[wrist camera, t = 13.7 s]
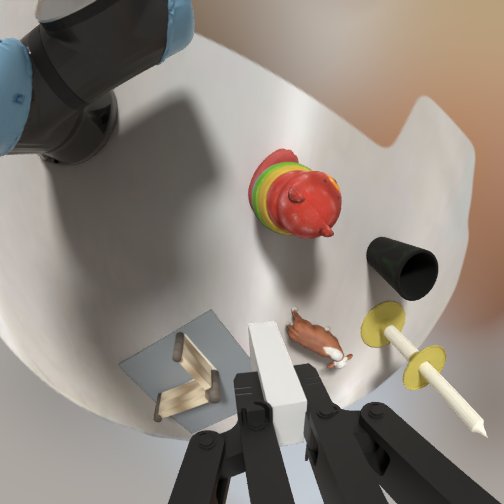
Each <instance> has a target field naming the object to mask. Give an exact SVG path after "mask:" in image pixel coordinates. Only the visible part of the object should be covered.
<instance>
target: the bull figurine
mask: <svg viewBox="0 0 504 504" xmlns="http://www.w3.org/2000/svg"><path fill="white" fill-rule="evenodd" d="M297 311H298V308H297V307H295V308H292V312H293V313H292V315H293V316H294V317H295V320H294V322H293V323H292V324H291V323H290V322H286V327H287V328H289V330H288V335H289V337H290V339H291V340H293V341H295V342H297V343H299V344H301V345H302V346H304V347H305V348H307V349H309V350H311V351H313V352H315V353H317V354H319V355H321V356H325V357H330V358H331V359H333V362H332V363H330V364H328V366H327V367H328V368H332V367H334V366H335V367H336V368H337V369H341V368H342V367H345V366H346V364H347V360H349V359H351V358H352V356H353V355H352V354H349V355H347V356H346V357H345V356H344V354H343V351H342V349H341V347H340V345H339V342H338V340H337V338H336V337H335V336H333V335H332V334H331V332H330V331H329V330H330V327H325V328H323V327H321V326H319V325H312V324H311V323H310V322H309V321H307V320H304V319H302V318H301V317H300V316H299V315H298V313H297Z"/></svg>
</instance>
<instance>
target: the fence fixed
mask: <svg viewBox="0 0 504 504" xmlns="http://www.w3.org/2000/svg"><path fill="white" fill-rule="evenodd" d="M172 360H173V361H174V362H179V363H180V364H181V365H182V366H183V367H184V369H185V370H186V371H187V372H188V373H189V374H190V375H191V376H192V377H193V378H194V379H195V380H196V381H197V382H198V383H199V384H200V385H201V386H202V387H203V388H204V389H205V390H207V389H209V401H210V402H211V403H214V404H216V403H219V402H220V400H221V399H220V383H219V372H218V371H217V370H211V365H210V364H209V363H208V362H207V361H206V360H205V359H204V357H203V356H202V355H201V354H200V353H199V352H198V351H197V350H196V348H195V347H194V346H193V345H192V344H191V343H190V341H189V340H188V339H187V338H186V337H185V336H184V334H183V333H182V332H178V333H177V334H176V338H175V344H174V350H173V355H172Z"/></svg>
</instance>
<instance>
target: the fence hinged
mask: <svg viewBox="0 0 504 504" xmlns="http://www.w3.org/2000/svg"><path fill="white" fill-rule="evenodd" d="M207 402H209V389H207V390H205V389H204V388H203V387H202V386H201V385H200V384H199V383H198V382H197V381H196V380H193V381H191V382H188V383H186V384H183V385H180V386H178V387H175V388H173V389H170V390H167V391H165V392H162V393H159V394H158V396H157V402H156V407H155V413H154V421H156V422H161V420H162V418H165V417H168V416H171V415H174V414H177V413H180V412H183V411H185V410H188V409H191V408H194V407H196V406H199V405H202V404H205V403H207Z"/></svg>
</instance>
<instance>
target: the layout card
mask: <svg viewBox="0 0 504 504" xmlns="http://www.w3.org/2000/svg"><path fill="white" fill-rule="evenodd" d="M178 332H182V333H183V334H184V336H185V337H186V338H187V339H188V340H189V341H190V343H191V344H192V345H193V346H194V347H195V348H196V350H197V351H198V352H199V353H200V354H201V355H202V356H203V357H204V359H205V360H206V361H207V362H208V363H209V364H210V365H211V370H217V371H218V372H219V383H220V399H221V400H220V402H219V403H216V404H214V403H211V402H210V401H209V402H207V403H205V404H202V405H199V406H196V407H194V408H191V409H188V410H185V411H183V412H180V413H177V414H174V415H171V416H172V417H173V418H174V419H175V420H176V421H177V422H178V423H180V424H181V425H182V426H183V427H184V428H186V429H187V430H188V431H189V432H190V433H194V432H196V431H198V430H201V429H203V428H205V427H208V426H210V425H212V424H214V423H216V422H219V421H221V420H223V419H225V418H227V417H229V416H232V415H234V414H236V413H237V408H236V400H235V392H234V383H233V380H234V378H235V376H236V374H237V373H246V372H253V371H252V367H251V359H250V357H249V356H248V355H247V354H246V353H245V351H244V350H243V349H242V348H241V346H240V345H239V344H238V343H237V341H236V340H235V339H234V338H233V337H232V335H231V334H230V333H229V331H228V330H227V329H226V328H225V326H224V325H223V324H222V323H221V321H220V320H219V319H218V318H217V316H216V315H215V314H214V312H213V311H212V310H209V311H208V312H206V313H204V314H203V315H201V316H199V317H198V318H196V319H194V320H193V321H191V322H189V323H188V324H186V325H184V326H183V327H181V328H179V329H178V330H176V331H174V332H173V333H171V334H169V335H168V336H166V337H164V338H163V339H161V340H159V341H158V342H156V343H154V344H153V345H151V346H149V347H147V348H146V349H144V350H142V351H141V352H139V353H137V354H135V355H134V356H132V357H130V358H129V359H127V360H125V361H123V362H122V363H120V364H119V367H120V368H121V369H122V370H123V371H124V372H125V373H126V374H127V375H128V376H129V377H130V378H131V379H132V380H133V381H134V382H135V383H136V384H137V385H138V386H139V387H140V388H141V389H142V390H143V391H144V392H145V393H146V394H147V395H149V396H150V397H151V398H152V399H153V400H154V401H155V402H157V396H158V394H159V393H162V392H165V391H167V390H170V389H173V388H175V387H178V386H180V385H183V384H186V383H188V382H191V381H193V380H195V379H194V378H193V377H192V376H191V375H190V374H189V373H188V372H187V371H186V370H185V369H184V367H183V366H182V365H181V364H180V363H179V362H174V361H173V360H172V355H173V350H174V344H175V338H176V334H177V333H178Z"/></svg>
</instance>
